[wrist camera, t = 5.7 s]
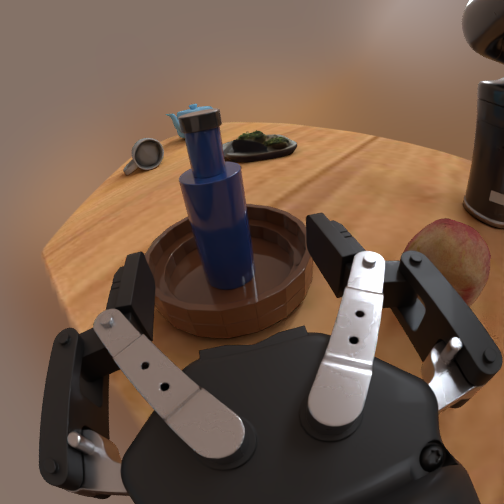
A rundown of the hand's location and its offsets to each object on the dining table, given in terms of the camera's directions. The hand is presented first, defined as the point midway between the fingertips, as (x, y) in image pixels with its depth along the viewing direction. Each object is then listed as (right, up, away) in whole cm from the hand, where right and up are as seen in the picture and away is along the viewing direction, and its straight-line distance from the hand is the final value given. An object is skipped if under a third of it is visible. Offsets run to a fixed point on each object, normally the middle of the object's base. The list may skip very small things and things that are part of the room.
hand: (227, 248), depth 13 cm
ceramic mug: (-26, +21, +50) cm, 60 cm away
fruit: (+17, -5, +7) cm, 19 cm away
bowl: (-1, -3, +14) cm, 14 cm away
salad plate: (+2, +23, +48) cm, 53 cm away
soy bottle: (-1, -2, +13) cm, 13 cm away
